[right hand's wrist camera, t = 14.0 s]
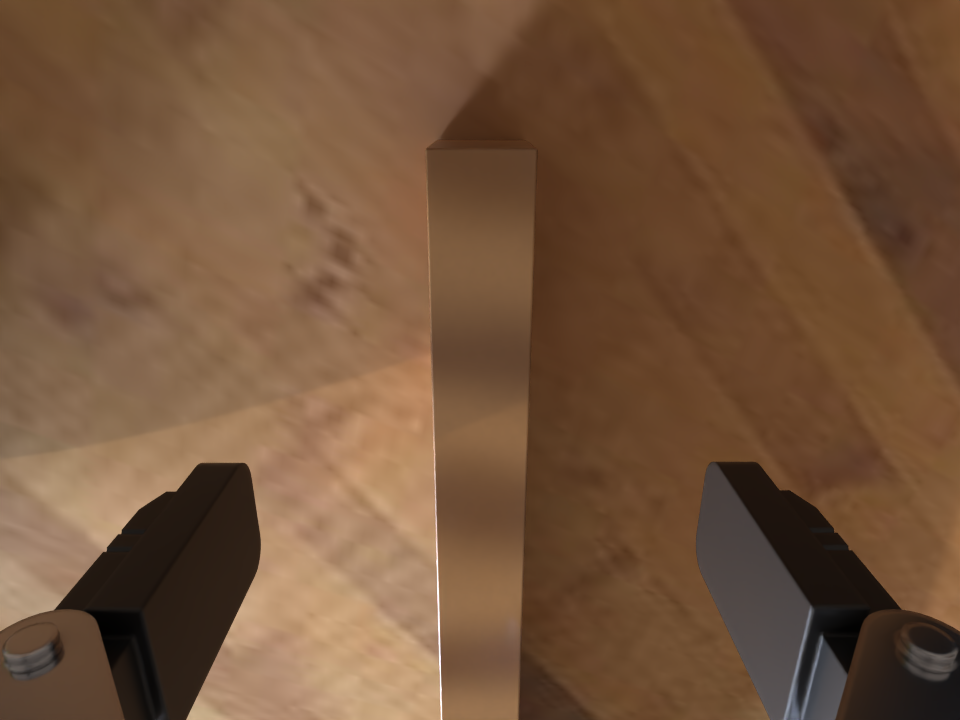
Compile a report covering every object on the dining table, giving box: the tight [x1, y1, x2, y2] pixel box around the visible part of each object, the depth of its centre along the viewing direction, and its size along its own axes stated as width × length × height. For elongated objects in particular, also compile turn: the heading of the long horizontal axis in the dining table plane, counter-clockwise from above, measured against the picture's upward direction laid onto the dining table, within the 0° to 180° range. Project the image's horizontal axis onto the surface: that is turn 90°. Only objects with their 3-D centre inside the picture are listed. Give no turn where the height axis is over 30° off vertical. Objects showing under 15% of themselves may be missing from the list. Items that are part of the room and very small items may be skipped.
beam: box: [425, 140, 537, 720], centre depth 37 cm, size 50×4×6 cm, turn 0°
